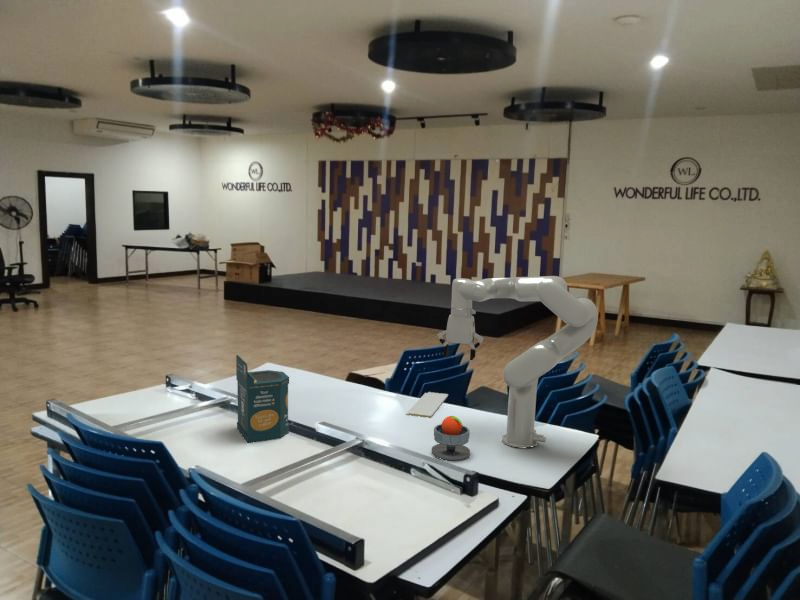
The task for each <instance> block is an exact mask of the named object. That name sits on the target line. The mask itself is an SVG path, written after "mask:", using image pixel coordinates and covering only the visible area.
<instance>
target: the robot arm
mask: <svg viewBox="0 0 800 600" xmlns="http://www.w3.org/2000/svg"><path fill="white" fill-rule="evenodd" d="M451 283H452V284H451V305H450V307H451V309H450V314H449V316H448V319H447V322H446V323H447V324H446V330H442V331H441V332H438V333H437V338H438V340H439V342H440V344H441V345H442V346H443V355H444V358H448V357H449V355H450V345H449V344H450V343H455V344H462V345H463V344H466V345H469V347H470V348H471V349H470V353H469V360H470V361H473V360H474V359H475V358H476V350H477V349H478V348H479V346H481V344H482V342H483V341H484V337H483V336H482V335H479V334H478V333H477V332H476V327H475V326H476V324H475V317H474V315H476V312H477V311H476V310H475V309H473V301H474V302H479V303H480V302H485V301H488V300H490V299H512V300H516V301H518V302H540V303H542V304H543V305H544V306H545V307H546V308H548V310H550V311H551V312H552V313H553V314H554V315H556V317H558V318H559V319H560V320H561V321H563V322H564V323H565V324H566V325H564V326H562V327H561V328H560V329H558V330H557V331H555V332H554V333H552V334H551V335H549V336H547V338H545V339H543V340H540V341H539V342H537V343H535V344H534V345H533V346H531V347H530V348H528V349H527V350H526V351H524V352H523V353H521V354H520V355H518V356H516V357H514V359H512V360H511V361H509V362H508V363H507V364H506V365H505V366H504V368H503V370H502V380H503V382H504V383H505V384H506V385H507V386H508V388H509V391H508V402H507V403H508V404H507V416H506V417H507V419H506V420H507V422H506V433H505V434H504V435H502V436H501V442H502V444H504V445H507V446H508V445H509V447H511V446H512V448H515V447H531V446H535V445H536V444H537V443H539V442H540V443H544V444H545V443H546V442H547V437H546V436H544V435H543V434H538V433H537V429H535V423H536V422H535V418H536V404H537V403H536V402H537V390H538V382H539V378H541V376H544V375H545V374H546V373H548V372H550V371H551V370H552V369H553V368H554V367H556V366H557V365H558V364H559V362H561V360H563V359H564V358H565V357H567V356H569V355H570V354H572V353H573V352H574V351H575V350H577V349H578V348H580V347H581V346H582V345H584V344H585V343H586V342H587V341H588V340H589V339H591V337H592V335H593V334H594V333H595V331H596V327H597V326H598V321H599V320H598V317H599V316H598V314H599V313H598V310H597V309H598V308H597V307H596V305H595V302H594V301H592V300H591V299H589V298H587V297H586V298H585V297H579V298H576V297H575V296H574V295H573V294H572V293H570V292H569V291H568V283H567V282H566V280H565V279H564V278H563V277H561V276H557V275H547V276H546V275H545V276H544V275H542V276H515V277H491V278H482V279H479V280H472V279H471V278H465V277H464V278H462V277H461V278H460V277H458V278H454V279H453V280H452V282H451ZM443 335H445V339H444V337H443ZM475 340H478V341H477V343H475ZM537 445H538V444H537ZM537 445H536V446H537ZM536 446H535V447H536Z"/></svg>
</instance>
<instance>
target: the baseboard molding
mask: <svg viewBox="0 0 800 600" xmlns="http://www.w3.org/2000/svg"><path fill="white" fill-rule="evenodd" d="M439 392H440V391H439V390H438V389H434V390H433V392H432V391H431V390H429V389H428V392H426V390H424V391H423V395H422V396H421V397H420V398H419V399H418V400H416V402H415V403H414V404H413V406H412V407H411V408H410V409H409V410H408V411H407V412H406V413H405V416H410V415H411V416H412V417H418V416H420V417H419V418H426V417H428V419H431V418H432V417H433V416H434V414H435V413H436V412H437V411H438V409H439V408H440V407H441V406H442V404H443V403H444V402H445V401H446V400H447V398H448V396H449V394H448V392H445V393H442V392H441V393H439ZM441 403H442V404H441ZM440 405H441V406H440Z"/></svg>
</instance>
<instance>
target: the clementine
mask: <svg viewBox="0 0 800 600" xmlns="http://www.w3.org/2000/svg"><path fill="white" fill-rule="evenodd" d="M441 424H442V431H443V432H444V434H447V435H459V433H460V432H461V430H462V427H463V426H464V425H463V424H462V421H461V420H460V418H458V417H457V416H455V415H449V416H446V417H445V418H444V419H443V420H442V422H441ZM462 425H463V426H462Z"/></svg>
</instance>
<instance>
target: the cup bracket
mask: <svg viewBox="0 0 800 600" xmlns="http://www.w3.org/2000/svg"><path fill="white" fill-rule="evenodd" d="M462 426H463V427H462V430H461V432H460V433H459V435H447V434H444V432H443V431H442V423H440V424H437V425H436V426H435V427H434V428H433V437H434V438H433V439H434V442H436V444H435V445H433V446H432V447H431V454H433V455H434V456H435V458H436V457H438V458H441V459H443V460H442V461H445V460H447V461H446V462H461V461H465V460H467V459H469V458H470V457H471V450H470V448H469V447H467V446H465V445H466V444H467V443H469V439H470V433H471V432H470V429H469V428H468V427H467V426H464V424H462ZM433 455H432V456H433ZM434 456H433V457H434ZM469 456H470V457H469ZM438 458H437V459H438ZM441 459H440V460H441Z"/></svg>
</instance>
